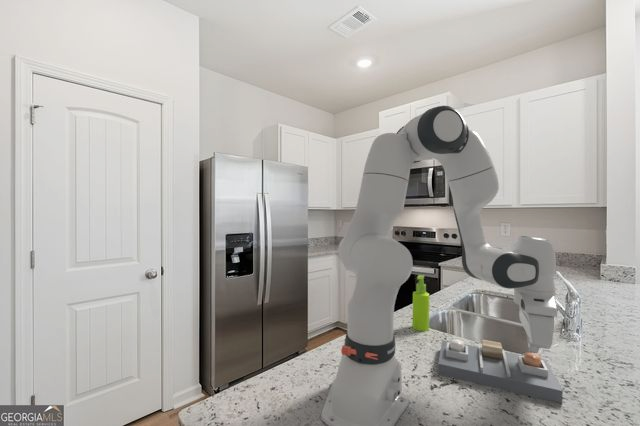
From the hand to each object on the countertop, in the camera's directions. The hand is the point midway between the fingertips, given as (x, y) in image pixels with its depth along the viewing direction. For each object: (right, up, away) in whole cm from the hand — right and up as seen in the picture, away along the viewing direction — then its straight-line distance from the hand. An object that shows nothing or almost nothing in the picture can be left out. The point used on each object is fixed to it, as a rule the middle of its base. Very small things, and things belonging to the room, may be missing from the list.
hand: (532, 350), depth 79 cm
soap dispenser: (-18, -7, +33) cm, 39 cm away
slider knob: (-6, -5, +8) cm, 11 cm away
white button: (-16, -3, +8) cm, 18 cm away
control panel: (-8, -8, +4) cm, 12 cm away
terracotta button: (0, -4, 0) cm, 4 cm away
